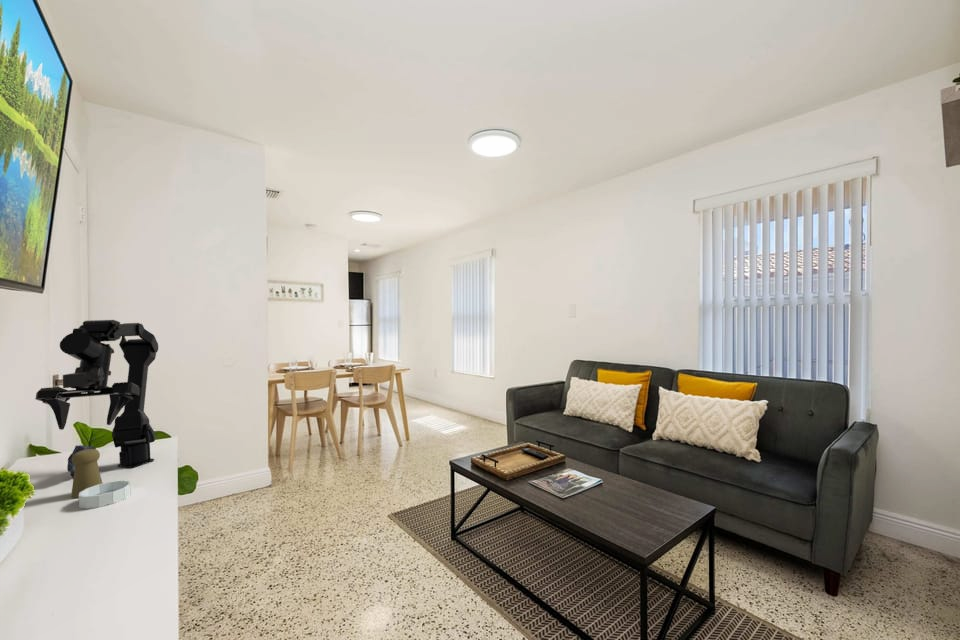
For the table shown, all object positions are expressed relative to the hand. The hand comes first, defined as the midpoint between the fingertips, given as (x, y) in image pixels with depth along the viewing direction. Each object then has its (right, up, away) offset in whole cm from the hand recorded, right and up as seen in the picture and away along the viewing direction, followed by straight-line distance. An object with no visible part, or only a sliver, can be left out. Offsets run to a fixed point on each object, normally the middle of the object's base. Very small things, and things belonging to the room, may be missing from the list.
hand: (85, 427), depth 102 cm
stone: (-17, -19, +17) cm, 30 cm away
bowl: (+5, -18, 0) cm, 19 cm away
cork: (-4, -18, +4) cm, 19 cm away
